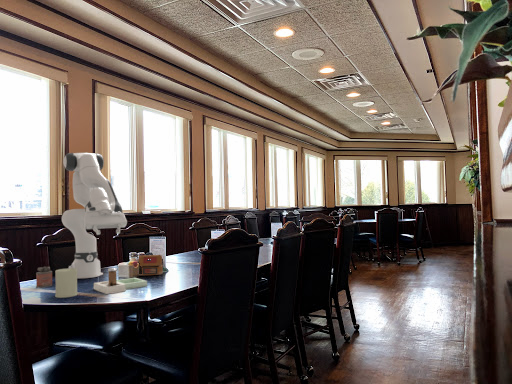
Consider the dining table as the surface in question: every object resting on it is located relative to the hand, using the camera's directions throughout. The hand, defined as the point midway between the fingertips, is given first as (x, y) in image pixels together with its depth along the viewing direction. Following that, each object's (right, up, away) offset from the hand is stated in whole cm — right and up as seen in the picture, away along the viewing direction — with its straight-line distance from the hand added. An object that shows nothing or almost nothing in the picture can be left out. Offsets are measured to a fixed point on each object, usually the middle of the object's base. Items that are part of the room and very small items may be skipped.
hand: (108, 233), depth 204 cm
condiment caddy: (+10, -29, +41) cm, 51 cm away
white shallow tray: (+2, -27, -4) cm, 27 cm away
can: (-14, -27, -15) cm, 34 cm away
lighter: (-36, -28, +8) cm, 46 cm away
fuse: (+4, -26, -7) cm, 27 cm away
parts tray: (+9, -27, +5) cm, 29 cm away
